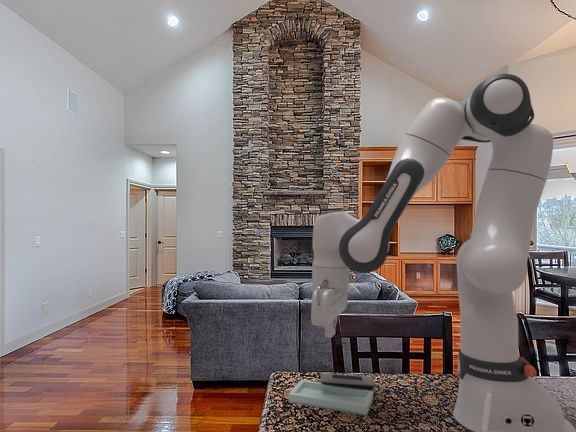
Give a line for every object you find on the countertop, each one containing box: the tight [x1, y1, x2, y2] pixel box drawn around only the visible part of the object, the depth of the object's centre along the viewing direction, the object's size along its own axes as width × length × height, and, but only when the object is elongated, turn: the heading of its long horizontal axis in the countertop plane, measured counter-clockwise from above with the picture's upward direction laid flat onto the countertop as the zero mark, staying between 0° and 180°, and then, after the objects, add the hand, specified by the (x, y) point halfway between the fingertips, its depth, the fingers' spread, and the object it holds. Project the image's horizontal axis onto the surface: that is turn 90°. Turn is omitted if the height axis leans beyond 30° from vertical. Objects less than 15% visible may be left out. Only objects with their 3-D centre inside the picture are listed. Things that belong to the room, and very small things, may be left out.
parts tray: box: [288, 379, 374, 417], centre depth 93 cm, size 18×9×2 cm, turn 69°
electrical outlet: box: [320, 372, 377, 389], centre depth 100 cm, size 13×10×2 cm
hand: (330, 335), depth 94 cm, fingers closed
